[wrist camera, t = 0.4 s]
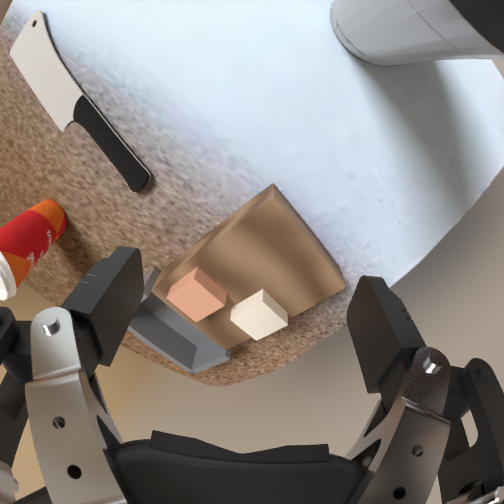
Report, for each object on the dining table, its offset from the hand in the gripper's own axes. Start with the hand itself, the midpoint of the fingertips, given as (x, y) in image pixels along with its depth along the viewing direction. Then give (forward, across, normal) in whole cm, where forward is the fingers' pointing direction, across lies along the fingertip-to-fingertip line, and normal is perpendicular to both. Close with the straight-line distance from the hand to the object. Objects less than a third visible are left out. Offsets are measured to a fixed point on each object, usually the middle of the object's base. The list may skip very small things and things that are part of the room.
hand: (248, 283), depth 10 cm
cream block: (+16, -2, +15) cm, 22 cm away
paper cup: (+20, +27, +8) cm, 35 cm away
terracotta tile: (+16, +5, +13) cm, 21 cm away
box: (+21, +8, +22) cm, 31 cm away
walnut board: (+20, 0, +12) cm, 23 cm away
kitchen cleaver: (+20, +23, -7) cm, 32 cm away
